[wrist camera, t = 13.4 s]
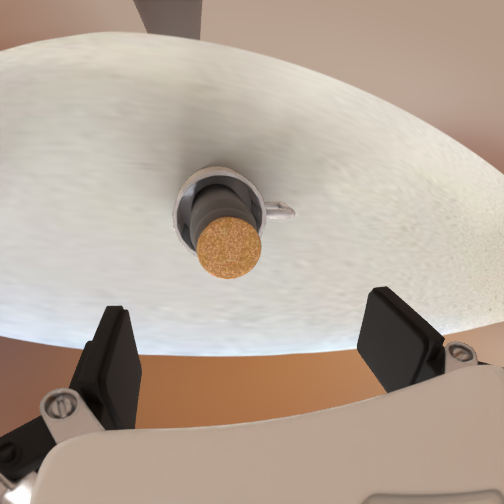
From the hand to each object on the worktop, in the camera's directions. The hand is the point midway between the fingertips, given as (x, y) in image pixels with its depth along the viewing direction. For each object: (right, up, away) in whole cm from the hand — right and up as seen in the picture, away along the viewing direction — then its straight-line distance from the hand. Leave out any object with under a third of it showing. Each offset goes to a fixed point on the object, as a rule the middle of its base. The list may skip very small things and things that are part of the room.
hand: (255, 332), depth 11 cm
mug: (-3, +9, +26) cm, 27 cm away
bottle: (-4, +8, +25) cm, 27 cm away
